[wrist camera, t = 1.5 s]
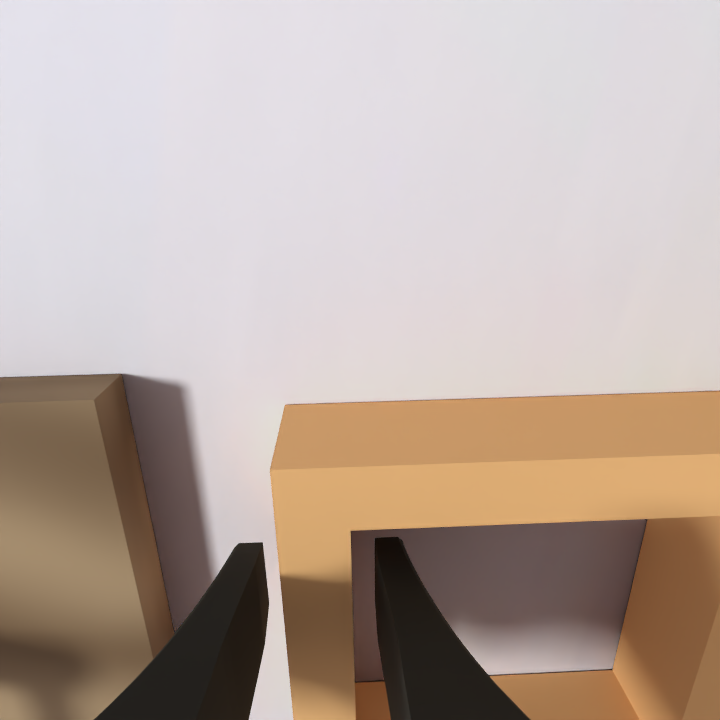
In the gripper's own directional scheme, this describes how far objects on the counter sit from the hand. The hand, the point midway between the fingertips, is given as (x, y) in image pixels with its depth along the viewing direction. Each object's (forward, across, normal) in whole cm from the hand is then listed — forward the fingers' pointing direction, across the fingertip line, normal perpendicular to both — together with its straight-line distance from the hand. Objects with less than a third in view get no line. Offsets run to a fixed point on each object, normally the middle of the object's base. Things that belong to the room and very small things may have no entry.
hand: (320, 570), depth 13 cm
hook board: (+2, +12, +2) cm, 12 cm away
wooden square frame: (+2, -5, +2) cm, 6 cm away
